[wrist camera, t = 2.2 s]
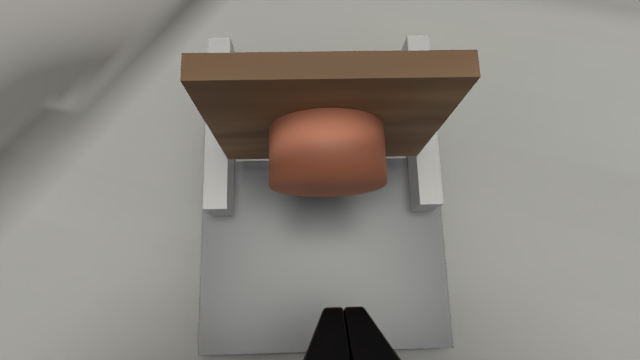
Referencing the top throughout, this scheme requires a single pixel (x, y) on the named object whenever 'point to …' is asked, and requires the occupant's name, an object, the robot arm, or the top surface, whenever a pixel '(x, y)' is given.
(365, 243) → the press base
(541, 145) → the top surface
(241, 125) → the press plate
